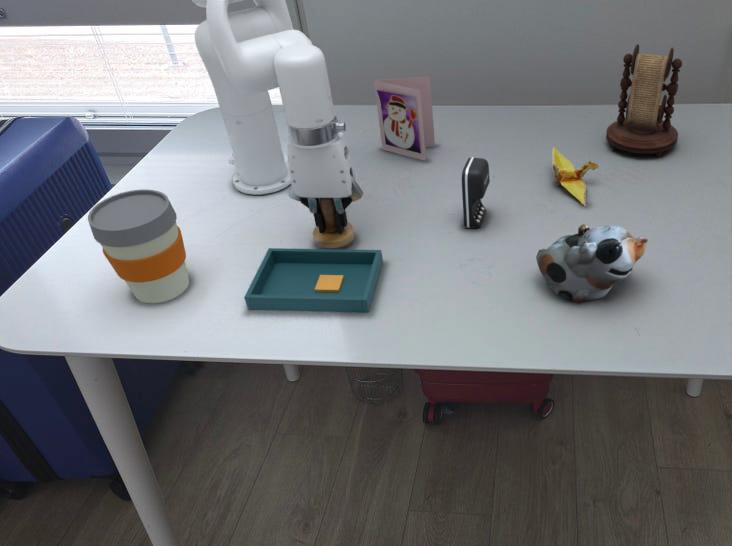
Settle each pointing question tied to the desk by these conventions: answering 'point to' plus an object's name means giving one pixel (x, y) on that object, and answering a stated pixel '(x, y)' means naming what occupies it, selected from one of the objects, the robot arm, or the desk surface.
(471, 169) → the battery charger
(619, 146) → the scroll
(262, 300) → the tray
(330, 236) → the stamp
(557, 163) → the origami crane
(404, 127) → the greeting card
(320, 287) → the orange flat square block
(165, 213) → the reusable coffee cup
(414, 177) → the desk surface
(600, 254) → the lucky cat figurine
